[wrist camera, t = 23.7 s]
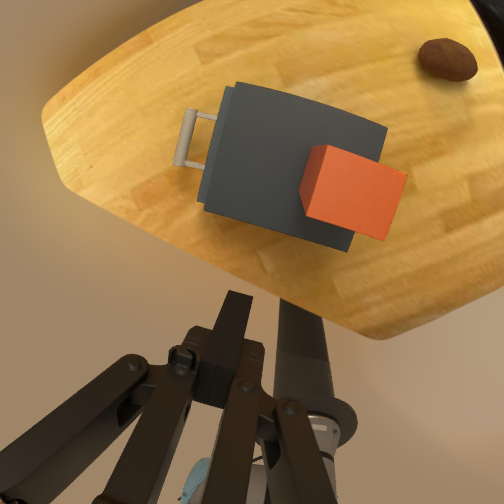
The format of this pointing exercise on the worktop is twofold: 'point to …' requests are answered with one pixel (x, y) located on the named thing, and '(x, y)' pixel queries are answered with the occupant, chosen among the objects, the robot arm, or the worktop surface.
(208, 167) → the drawer
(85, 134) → the worktop surface
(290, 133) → the cabinet
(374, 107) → the worktop surface
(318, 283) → the worktop surface
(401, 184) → the box
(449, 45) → the potato
